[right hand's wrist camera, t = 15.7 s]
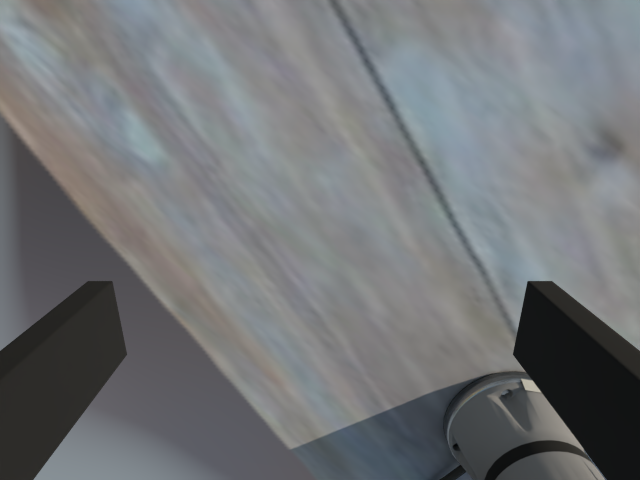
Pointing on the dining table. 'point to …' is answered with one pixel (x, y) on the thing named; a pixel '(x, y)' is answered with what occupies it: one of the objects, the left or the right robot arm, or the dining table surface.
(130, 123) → the dining table surface
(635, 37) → the dining table surface
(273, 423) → the dining table surface
